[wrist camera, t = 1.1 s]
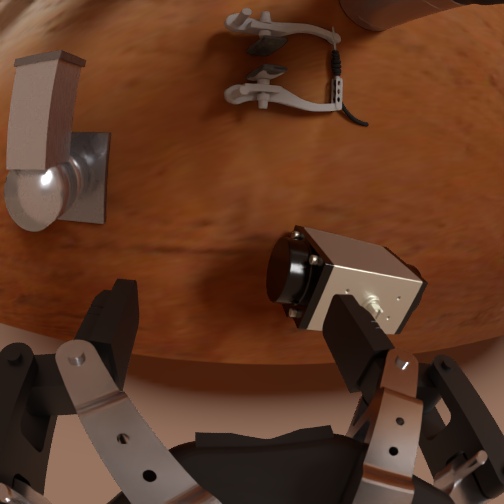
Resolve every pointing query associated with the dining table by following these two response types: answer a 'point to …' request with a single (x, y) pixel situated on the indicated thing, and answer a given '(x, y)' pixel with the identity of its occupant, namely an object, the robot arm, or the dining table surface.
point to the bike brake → (265, 46)
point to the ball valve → (341, 279)
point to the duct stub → (89, 176)
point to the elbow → (41, 139)
